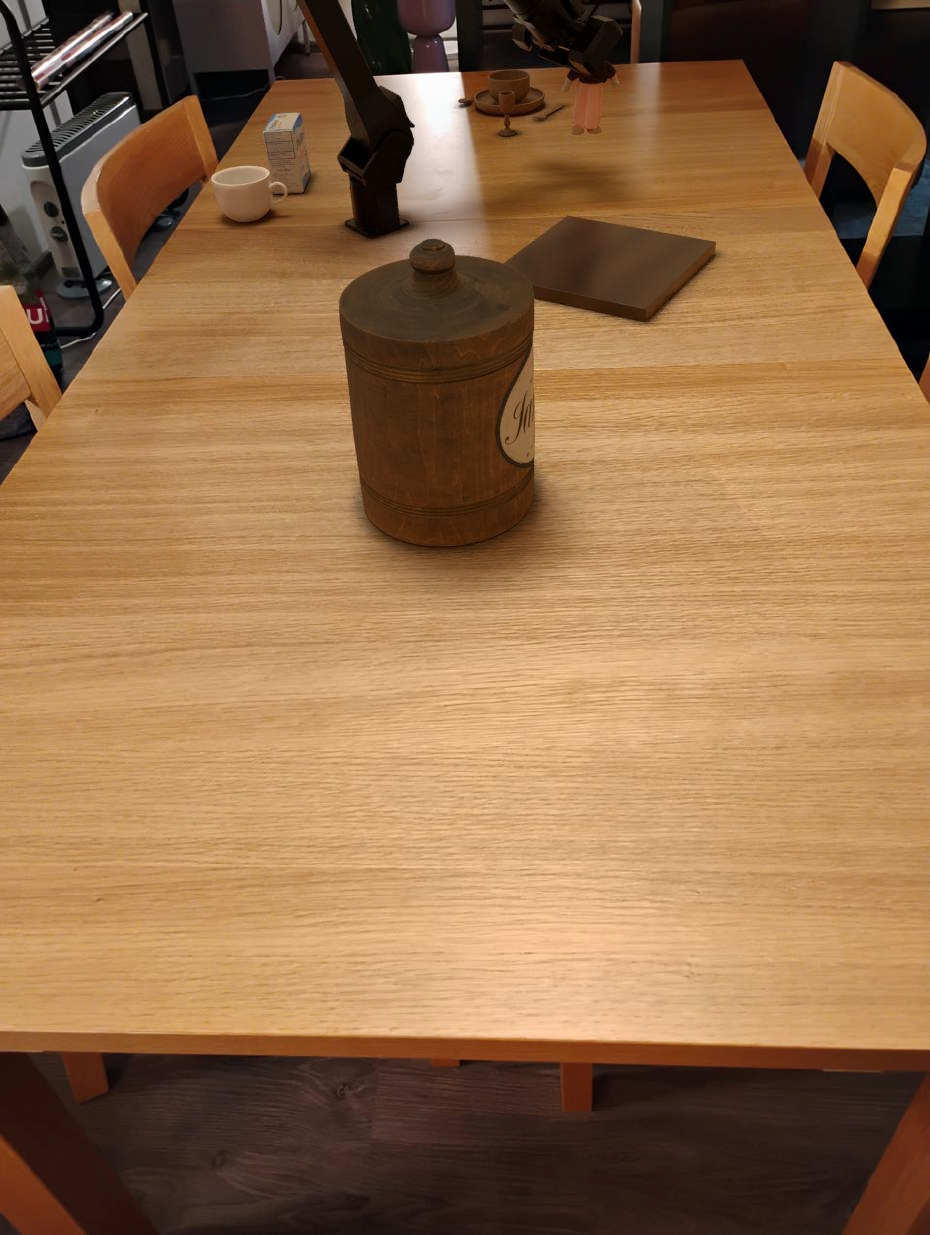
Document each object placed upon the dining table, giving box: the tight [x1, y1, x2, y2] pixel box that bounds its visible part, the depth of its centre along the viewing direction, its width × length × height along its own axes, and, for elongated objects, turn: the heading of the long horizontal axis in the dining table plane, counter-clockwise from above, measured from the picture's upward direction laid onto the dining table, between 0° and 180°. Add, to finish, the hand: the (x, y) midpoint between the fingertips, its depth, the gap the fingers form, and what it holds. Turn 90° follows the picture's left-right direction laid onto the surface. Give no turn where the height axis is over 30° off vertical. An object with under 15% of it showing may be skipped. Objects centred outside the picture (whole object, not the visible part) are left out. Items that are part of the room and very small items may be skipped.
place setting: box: [457, 69, 565, 137], centre depth 163 cm, size 18×20×6 cm
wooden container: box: [338, 238, 536, 547], centre depth 78 cm, size 15×15×22 cm
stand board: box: [502, 215, 717, 323], centre depth 117 cm, size 20×20×2 cm
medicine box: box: [262, 112, 312, 195], centre depth 142 cm, size 8×4×9 cm, turn 179°
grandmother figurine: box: [561, 59, 620, 136], centre depth 134 cm, size 8×4×13 cm, turn 106°
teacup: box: [210, 165, 289, 223], centre depth 135 cm, size 10×8×5 cm
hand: (600, 77), depth 134 cm, fingers closed on grandmother figurine, 3 cm apart
